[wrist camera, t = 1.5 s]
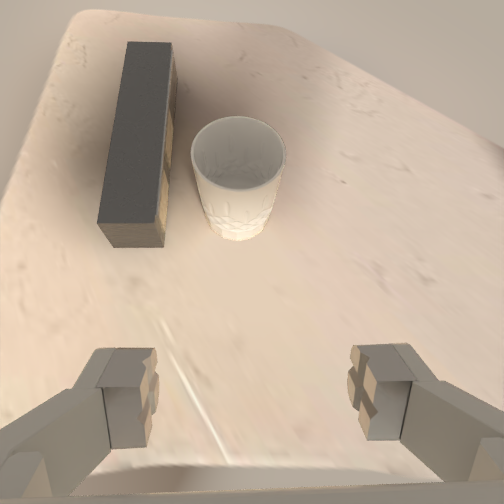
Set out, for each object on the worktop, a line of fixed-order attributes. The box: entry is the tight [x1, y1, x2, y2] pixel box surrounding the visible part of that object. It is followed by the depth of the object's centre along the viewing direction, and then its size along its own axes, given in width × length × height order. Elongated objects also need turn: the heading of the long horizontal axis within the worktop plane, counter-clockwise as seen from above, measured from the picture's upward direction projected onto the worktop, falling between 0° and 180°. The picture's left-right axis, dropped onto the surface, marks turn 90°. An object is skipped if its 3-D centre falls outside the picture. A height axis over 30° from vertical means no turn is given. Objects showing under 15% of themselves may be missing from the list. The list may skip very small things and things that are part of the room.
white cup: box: [191, 116, 286, 241], centre depth 35 cm, size 8×8×10 cm
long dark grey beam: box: [97, 42, 177, 248], centre depth 40 cm, size 5×24×5 cm, turn 2°
